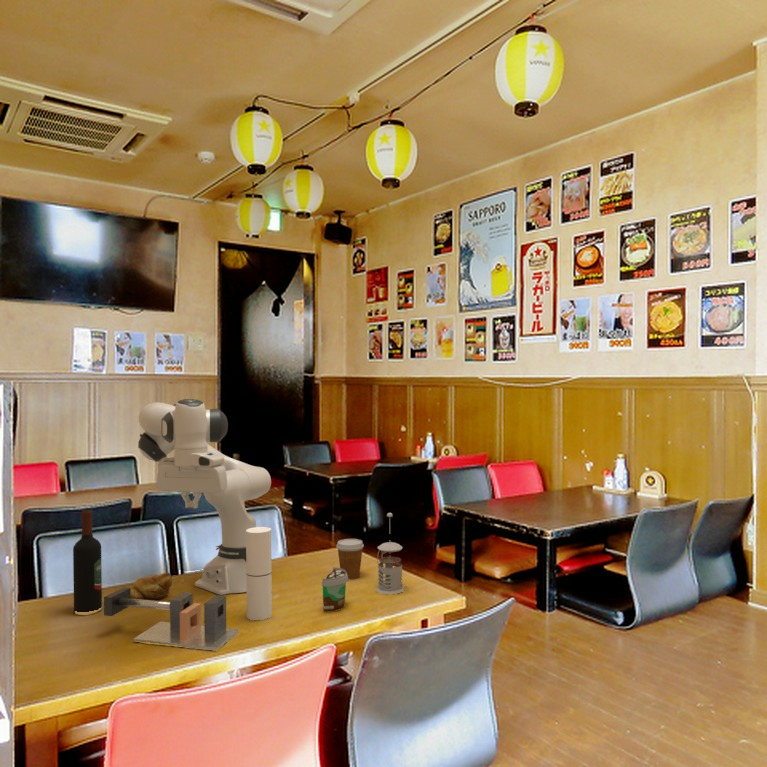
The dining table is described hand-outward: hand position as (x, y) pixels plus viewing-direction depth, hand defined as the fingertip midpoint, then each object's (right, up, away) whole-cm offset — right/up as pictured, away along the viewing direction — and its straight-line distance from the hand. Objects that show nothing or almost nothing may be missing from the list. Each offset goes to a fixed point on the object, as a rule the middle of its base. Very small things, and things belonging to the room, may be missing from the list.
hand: (191, 507), depth 173 cm
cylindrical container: (+17, -33, +8) cm, 38 cm away
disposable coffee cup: (+42, -33, +44) cm, 69 cm away
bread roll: (-21, -34, +24) cm, 46 cm away
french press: (+55, -33, +30) cm, 71 cm away
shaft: (-11, -28, -4) cm, 30 cm away
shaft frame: (+1, -33, -7) cm, 34 cm away
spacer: (+2, -32, -7) cm, 33 cm away
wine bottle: (-35, -34, +13) cm, 50 cm away
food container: (+39, -33, +15) cm, 54 cm away
